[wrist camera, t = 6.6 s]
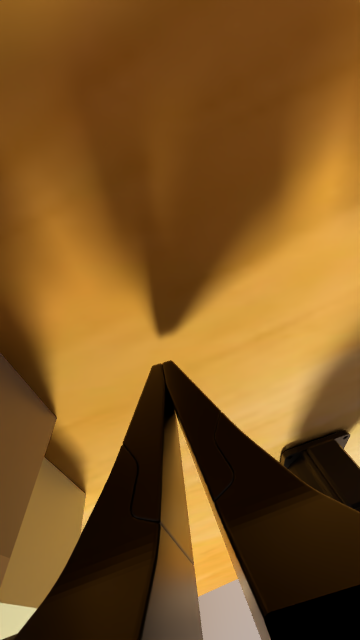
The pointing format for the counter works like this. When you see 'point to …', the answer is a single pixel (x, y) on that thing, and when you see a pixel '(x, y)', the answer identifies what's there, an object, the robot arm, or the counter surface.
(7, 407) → the grey stepped block
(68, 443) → the counter surface
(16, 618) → the green roller block
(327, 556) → the robot arm
